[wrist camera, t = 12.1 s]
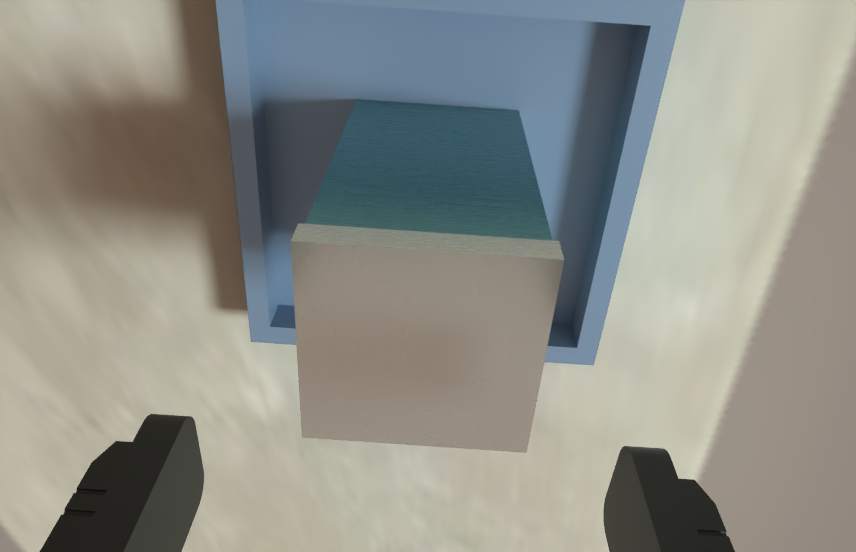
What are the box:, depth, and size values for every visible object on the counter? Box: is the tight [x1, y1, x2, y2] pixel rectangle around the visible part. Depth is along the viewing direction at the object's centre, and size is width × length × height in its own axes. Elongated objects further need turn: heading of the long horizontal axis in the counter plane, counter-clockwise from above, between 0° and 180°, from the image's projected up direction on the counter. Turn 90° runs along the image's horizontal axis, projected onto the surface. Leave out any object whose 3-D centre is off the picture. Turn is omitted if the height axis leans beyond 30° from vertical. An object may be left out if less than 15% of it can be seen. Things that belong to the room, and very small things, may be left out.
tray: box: [215, 0, 685, 365], centre depth 23 cm, size 14×14×2 cm
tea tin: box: [291, 99, 564, 453], centre depth 19 cm, size 6×6×10 cm
